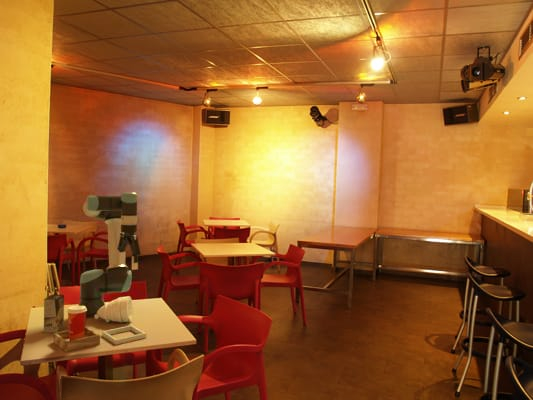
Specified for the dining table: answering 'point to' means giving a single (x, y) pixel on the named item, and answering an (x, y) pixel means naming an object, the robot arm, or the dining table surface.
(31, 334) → the dining table surface
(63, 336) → the tray
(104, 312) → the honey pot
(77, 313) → the coffee cup
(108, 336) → the tray
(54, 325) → the coffee box
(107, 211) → the robot arm
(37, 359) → the dining table surface
